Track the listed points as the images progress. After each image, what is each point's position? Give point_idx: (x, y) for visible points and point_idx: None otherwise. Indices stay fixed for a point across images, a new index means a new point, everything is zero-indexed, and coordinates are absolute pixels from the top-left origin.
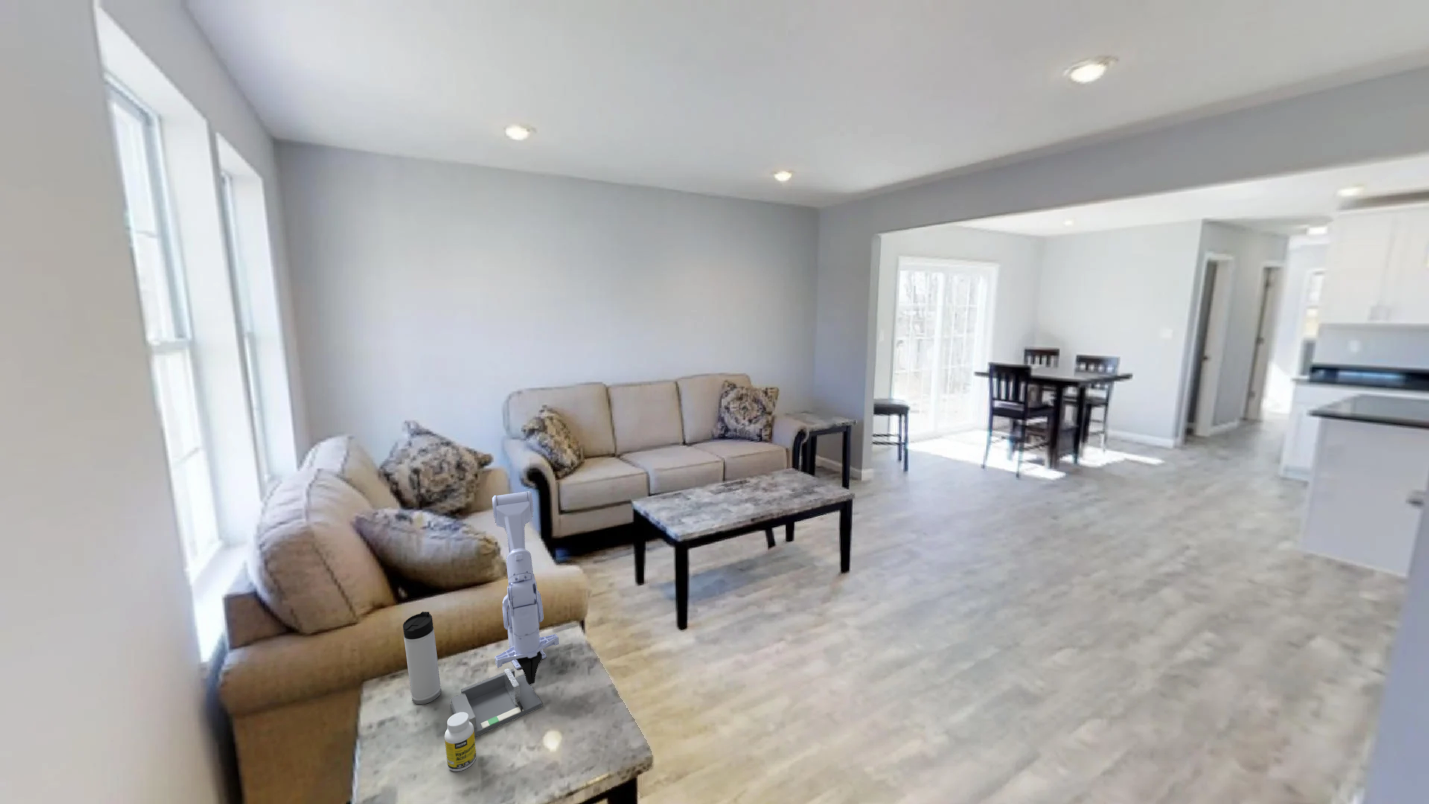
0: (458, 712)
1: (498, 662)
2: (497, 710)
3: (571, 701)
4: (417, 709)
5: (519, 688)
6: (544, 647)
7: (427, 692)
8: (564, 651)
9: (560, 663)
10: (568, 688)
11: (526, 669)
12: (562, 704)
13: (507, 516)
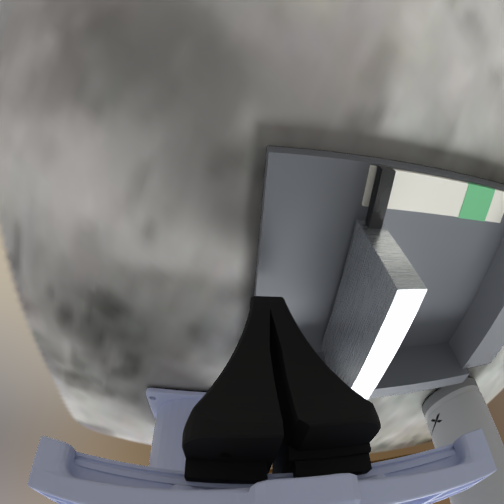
0: None
1: (488, 458)
2: (432, 250)
3: (123, 88)
4: (484, 368)
5: (388, 273)
6: (145, 492)
7: (474, 398)
8: (89, 375)
9: (107, 343)
10: (105, 193)
11: (321, 377)
12: (170, 93)
13: None
